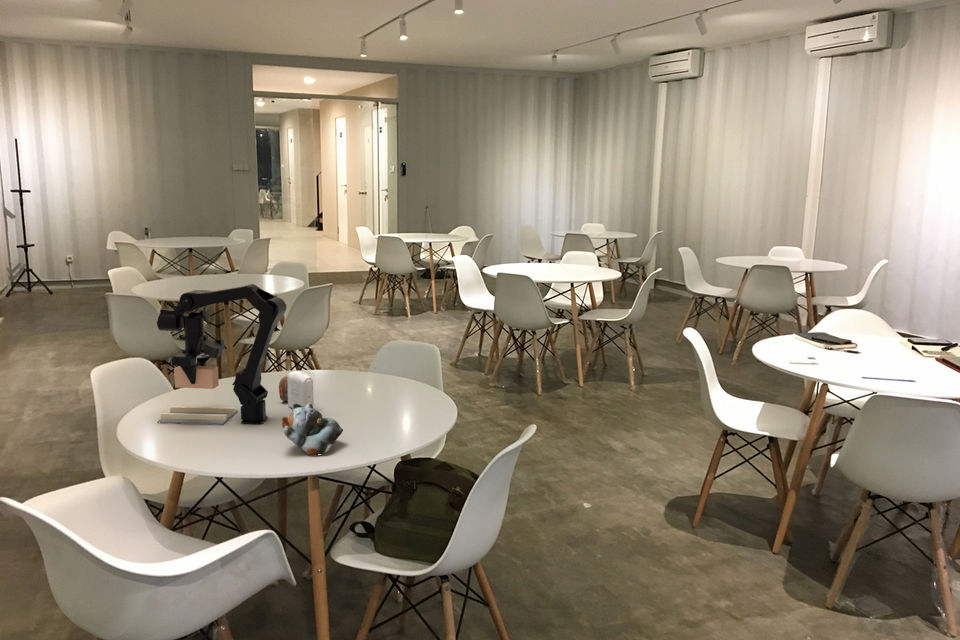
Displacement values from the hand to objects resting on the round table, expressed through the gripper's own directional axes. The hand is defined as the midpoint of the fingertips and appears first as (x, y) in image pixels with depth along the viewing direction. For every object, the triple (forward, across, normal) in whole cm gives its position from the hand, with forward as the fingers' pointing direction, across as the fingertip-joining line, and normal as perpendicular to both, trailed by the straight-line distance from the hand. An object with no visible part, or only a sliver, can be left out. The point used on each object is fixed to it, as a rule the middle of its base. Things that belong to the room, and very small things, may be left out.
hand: (196, 382), depth 234 cm
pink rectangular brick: (+1, 0, 0) cm, 1 cm away
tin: (+12, +25, -20) cm, 35 cm away
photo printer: (+12, +14, -28) cm, 33 cm away
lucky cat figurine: (+12, -20, -43) cm, 49 cm away
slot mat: (+11, 0, 0) cm, 11 cm away
